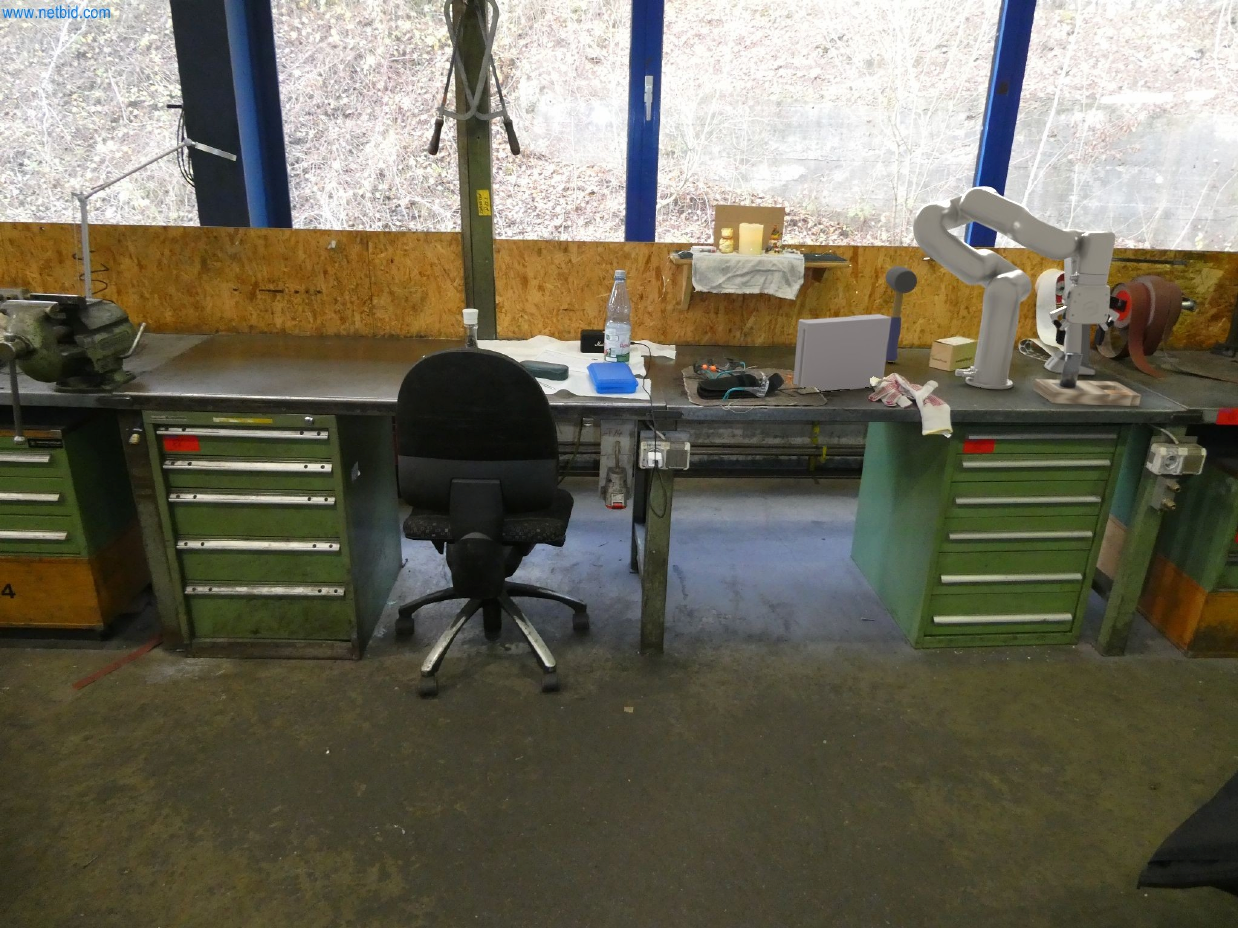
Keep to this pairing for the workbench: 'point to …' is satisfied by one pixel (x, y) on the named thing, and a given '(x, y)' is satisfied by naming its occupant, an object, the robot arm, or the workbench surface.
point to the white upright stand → (1072, 333)
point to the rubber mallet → (898, 304)
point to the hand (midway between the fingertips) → (1078, 344)
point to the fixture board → (1087, 393)
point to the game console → (841, 351)
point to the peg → (1070, 369)
